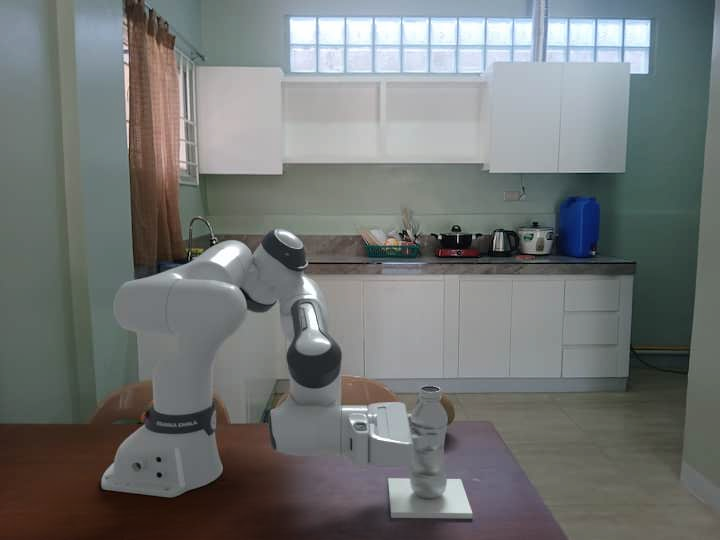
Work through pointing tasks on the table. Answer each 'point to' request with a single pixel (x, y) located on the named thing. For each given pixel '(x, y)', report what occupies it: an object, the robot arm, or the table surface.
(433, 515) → the bottle pad
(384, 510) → the table surface
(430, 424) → the plastic bottle
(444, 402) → the natural sponge
